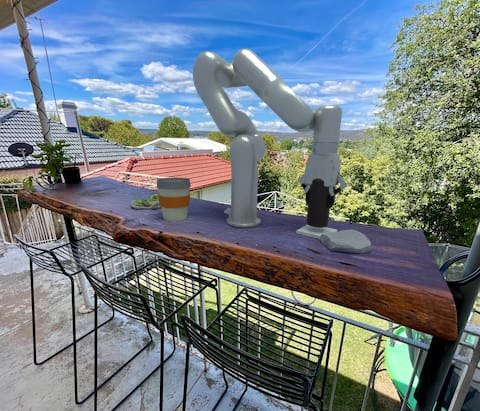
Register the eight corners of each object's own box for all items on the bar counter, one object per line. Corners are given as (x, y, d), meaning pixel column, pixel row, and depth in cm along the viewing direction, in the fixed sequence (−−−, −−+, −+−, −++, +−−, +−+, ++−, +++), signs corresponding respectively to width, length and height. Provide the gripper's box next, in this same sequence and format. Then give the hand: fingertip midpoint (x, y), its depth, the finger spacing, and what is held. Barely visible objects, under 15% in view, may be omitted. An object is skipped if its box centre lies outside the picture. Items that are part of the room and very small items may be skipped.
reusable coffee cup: (179, 223, 87) (178, 182, 84) (151, 219, 91) (148, 180, 88) (197, 215, 99) (196, 178, 95) (171, 212, 103) (169, 176, 99)
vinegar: (330, 224, 80) (337, 164, 76) (323, 229, 75) (330, 164, 71) (311, 220, 85) (317, 162, 80) (303, 224, 79) (308, 163, 75)
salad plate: (173, 210, 107) (173, 200, 106) (129, 212, 101) (128, 202, 100) (169, 201, 125) (169, 192, 124) (132, 203, 119) (131, 193, 118)
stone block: (373, 259, 66) (354, 239, 75) (377, 244, 64) (357, 226, 73) (331, 261, 65) (317, 241, 74) (334, 247, 63) (319, 227, 72)
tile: (296, 233, 80) (296, 230, 80) (308, 226, 87) (309, 223, 87) (326, 240, 74) (326, 237, 73) (337, 232, 81) (337, 229, 81)
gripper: (293, 148, 77) (289, 203, 81) (350, 149, 66) (342, 212, 70) (303, 148, 82) (299, 200, 87) (358, 149, 72) (350, 208, 76)
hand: (318, 205), depth 78 cm, fingers closed on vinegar, 6 cm apart
